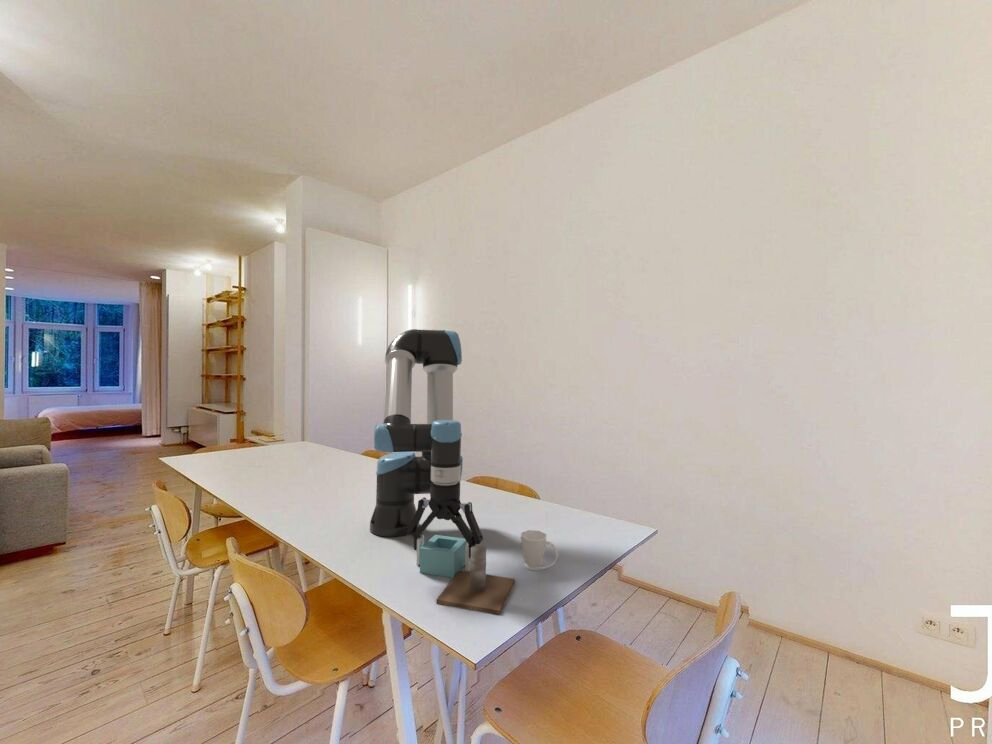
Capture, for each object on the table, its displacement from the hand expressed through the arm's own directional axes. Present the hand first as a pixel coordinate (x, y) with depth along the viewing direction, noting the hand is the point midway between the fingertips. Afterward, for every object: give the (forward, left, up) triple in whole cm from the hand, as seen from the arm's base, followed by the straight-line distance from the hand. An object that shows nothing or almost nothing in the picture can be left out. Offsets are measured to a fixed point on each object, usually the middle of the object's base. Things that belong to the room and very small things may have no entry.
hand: (443, 566), depth 107 cm
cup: (+23, +7, 0) cm, 24 cm away
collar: (0, 0, 0) cm, 0 cm away
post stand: (+12, -9, 0) cm, 15 cm away
